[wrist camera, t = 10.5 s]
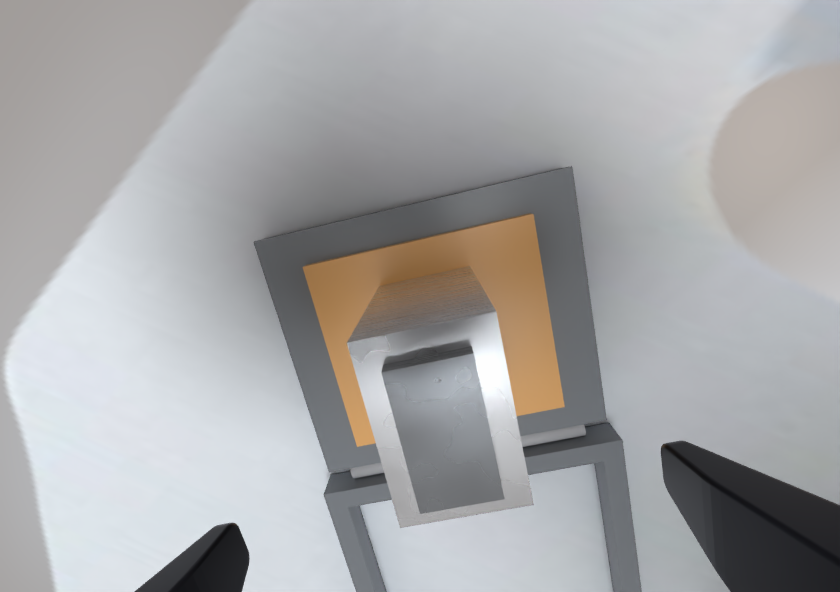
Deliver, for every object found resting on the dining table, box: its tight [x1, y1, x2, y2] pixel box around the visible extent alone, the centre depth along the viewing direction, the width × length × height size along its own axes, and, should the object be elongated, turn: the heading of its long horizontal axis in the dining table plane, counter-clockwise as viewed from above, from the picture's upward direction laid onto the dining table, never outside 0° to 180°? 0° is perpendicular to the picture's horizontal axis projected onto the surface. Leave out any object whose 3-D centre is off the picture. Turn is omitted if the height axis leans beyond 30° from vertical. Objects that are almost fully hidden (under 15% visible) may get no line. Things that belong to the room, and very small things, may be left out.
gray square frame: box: [324, 423, 642, 592], centre depth 22 cm, size 15×15×2 cm
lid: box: [254, 166, 607, 478], centre depth 19 cm, size 14×13×2 cm
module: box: [347, 266, 534, 528], centre depth 14 cm, size 4×6×8 cm, turn 13°
